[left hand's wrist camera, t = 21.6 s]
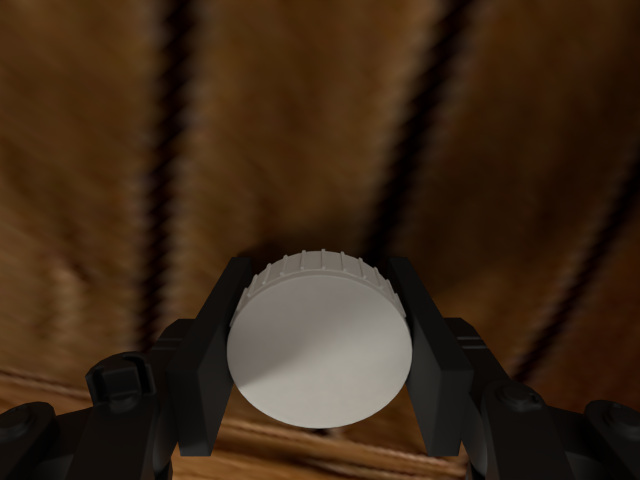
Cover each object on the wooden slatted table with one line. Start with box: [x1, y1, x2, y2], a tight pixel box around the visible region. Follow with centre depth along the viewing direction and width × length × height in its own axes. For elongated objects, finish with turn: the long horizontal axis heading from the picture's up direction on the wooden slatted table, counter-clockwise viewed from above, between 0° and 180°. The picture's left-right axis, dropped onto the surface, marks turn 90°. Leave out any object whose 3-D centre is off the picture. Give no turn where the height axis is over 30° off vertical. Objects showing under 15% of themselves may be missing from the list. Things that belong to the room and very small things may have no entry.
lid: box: [227, 249, 413, 428], centre depth 11 cm, size 6×6×2 cm
